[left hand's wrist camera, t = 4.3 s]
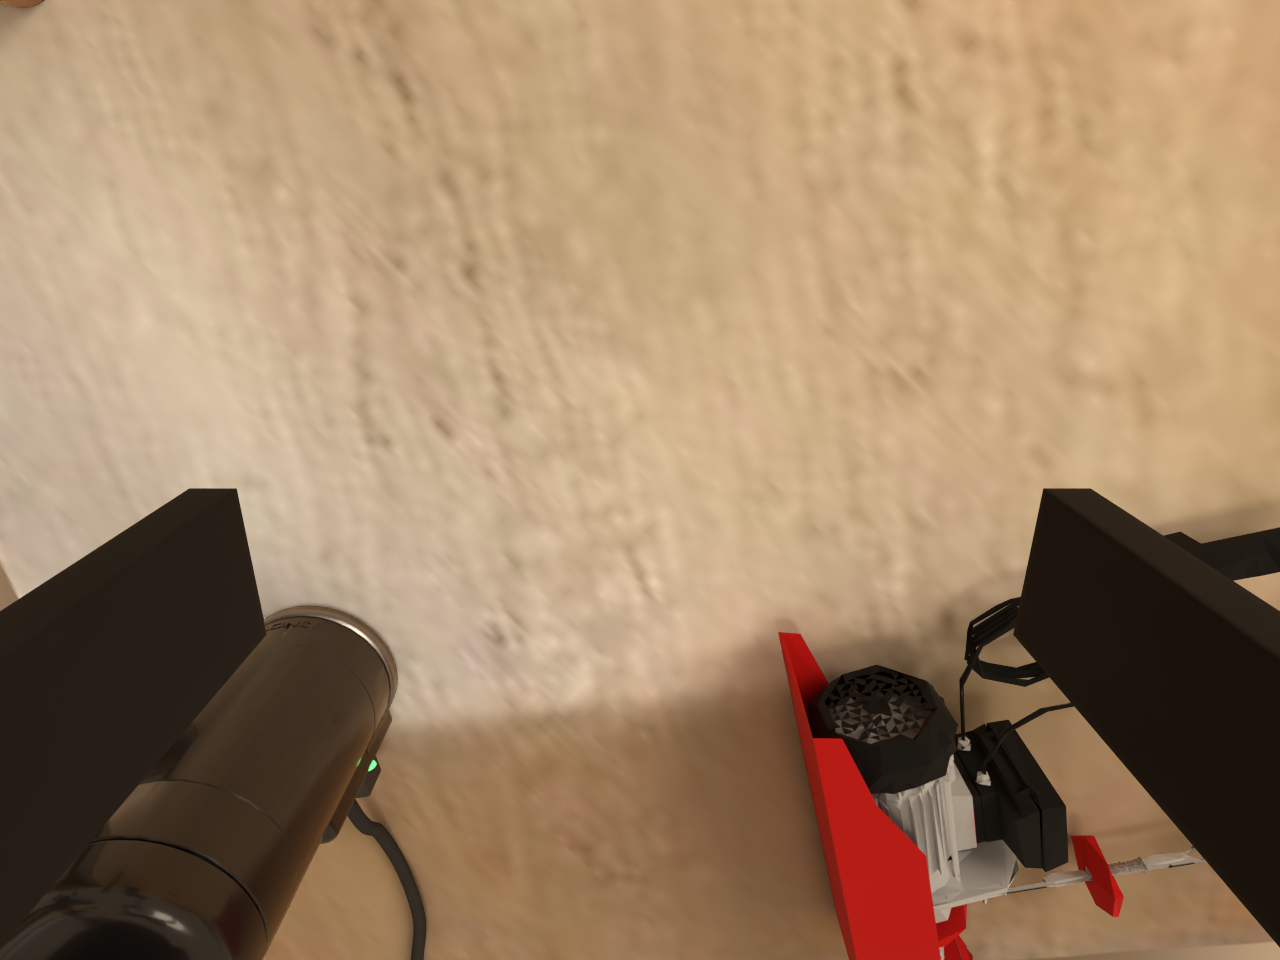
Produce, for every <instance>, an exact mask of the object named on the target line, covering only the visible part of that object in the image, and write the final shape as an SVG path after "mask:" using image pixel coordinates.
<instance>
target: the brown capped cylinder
mask: <svg viewBox="0 0 1280 960" xmlns="http://www.w3.org/2000/svg"><path fill="white" fill-rule="evenodd" d="M41 1H43V0H0V3H1V4H5V5H8V6H11V7H17V8H26V7H31V6H34V5H36V4H38V3H40V2H41Z"/></svg>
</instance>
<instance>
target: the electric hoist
mask: <svg viewBox="0 0 1280 960" xmlns="http://www.w3.org/2000/svg"><path fill="white" fill-rule="evenodd" d="M1164 537H1166V538H1167V539H1169V540H1171V541H1172V542H1174V543H1175V544H1177V545H1178V546H1180V547H1181V548H1183V549H1184V550H1186V551H1188V552H1189V553H1191V554H1192V555H1194V556H1195V557H1197V558H1198V559H1200V560H1201V561H1203V562H1204V563H1206V564H1208V565H1209V566H1211V567H1212V568H1214V569H1215V570H1217V571H1218V572H1220V573H1221V574H1223V575H1225V576H1226V577H1228V578H1229V579H1231V580H1232V581H1234V580H1239V579H1244V578H1250V577H1256V576H1262V575H1267V574H1272V573H1277V572H1280V527H1279V528H1275V529H1270V530H1265V531H1260V532H1256V533H1251V534H1246V535H1241V536H1236V537H1232V538H1227V539H1222V540H1217V541H1213V542H1208V543H1203V544H1201V543H1199V542H1197V541H1195V540H1194V539H1192V538H1190V537H1189V536H1187V535H1185V534H1183V533H1182V532H1177V533H1173V534H1169V535H1165V536H1164ZM1020 600H1021V597H1018V598H1013V599H1009V600H1007V601H1005V602H1003V603H1001V604H998V605H996V606H994V607H993V608H991V609H990V610H988V611H986V612H985V613H983V614H982V615H980V616H979V617H977V618H975V619H974V620H972V621H971V622H970V624H969V627H968V630H967V642H966V652H965V659H964V660H967V664H968V666H967V668H966V669H965V671H964V673H963V675H962V676H961V678H960V709H961V734H957V735H955V734H956V730H957V726H958V725H957V723H956V721H955V720H954V718H953V717H952V715H951V714H950V712H949V711H948V709H947V708H946V706H945V703H944V699H943V698H942V697H940V696H939V695H938V694H937V692H936V691H935V689H934V688H933V686H932V685H931V684H930V683H928V682H927V681H925V680H922V679H919V678H916V677H913V676H910V675H906V674H903V673H900V672H897V671H894V670H891V669H888V668H885V667H882V666H879V665H875V666H871V667H868V668H864V669H860V670H857V671H853V672H850V673H846V674H843V675H841V676H840V677H838V678H837V679H835V680H834V681H832V682H831V683H830V684H828V682H827V680H826V678H825V677H824V675H823V673H822V671H821V670H820V668H819V666H818V664H817V663H816V661H815V659H814V657H813V656H812V654H811V652H810V650H809V649H808V647H807V645H806V643H805V641H804V640H803V638H802V636H801V634H793V633H782V632H778V633H779V638H780V643H781V648H782V653H783V657H784V662H785V667H786V672H787V677H788V681H789V686H790V691H791V696H792V701H793V706H794V710H795V715H796V720H797V725H798V730H799V734H800V739H801V744H802V749H803V754H804V759H805V763H806V768H807V773H808V778H809V783H810V788H811V792H812V797H813V802H814V807H815V812H816V816H817V821H818V826H819V831H820V836H821V841H822V845H823V850H824V855H825V860H826V865H827V869H828V874H829V879H830V884H831V889H832V894H833V898H834V903H835V908H836V913H837V917H838V921H839V925H840V928H841V932H842V935H843V939H844V943H845V946H846V950H847V953H848V957H849V960H973V958H972V954H971V953H970V952H969V951H968V949H967V947H966V945H965V944H964V942H963V941H962V939H961V938H960V936H959V934H960V933H961V932H962V931H963V930H965V929H966V907H967V904H968V903H972V902H976V901H980V900H983V902H984V904H986V903H987V899H989V898H993V897H997V896H1001V895H1007V894H1008V893H1015V892H1021V891H1027V890H1033V889H1040V888H1046V887H1061V886H1066V885H1070V884H1075V883H1079V882H1083V881H1085V883H1086V885H1087V887H1088V889H1089V891H1090V893H1091V896H1092V898H1093V900H1094V902H1095V904H1096V905H1097V906H1098V907H1100V908H1101V909H1103V910H1104V911H1106V912H1107V913H1108V914H1110V915H1111V916H1113V917H1118V916H1119V913H1120V909H1121V905H1122V901H1123V898H1124V896H1123V894H1122V892H1121V890H1120V888H1119V886H1118V884H1117V882H1116V880H1115V878H1114V876H1121V875H1127V874H1133V873H1139V872H1145V871H1152V870H1158V869H1164V868H1170V867H1177V866H1183V865H1189V864H1195V863H1201V862H1207V861H1206V860H1205V859H1199V858H1195V857H1191V856H1188V855H1187V854H1188V853H1189V852H1190V851H1191V850H1192V849H1193V848H1194V846H1193V847H1191V848H1190V849H1188V850H1187V851H1185V852H1178V853H1168V854H1158V855H1150V856H1148V857H1146V858H1144V859H1142V858H1141V857H1138V859H1135V860H1134V859H1133V860H1132V861H1127V862H1123V863H1121V862H1118V863H1114V864H1115V865H1114V864H1112V863H1111V865H1110V864H1107V862H1106V860H1105V858H1104V856H1103V854H1102V852H1101V850H1100V848H1099V846H1098V843H1097V841H1096V839H1095V837H1094V836H1071V837H1072V842H1073V846H1074V851H1075V856H1076V860H1077V865H1078V869H1079V870H1078V871H1068V872H1058V873H1051V874H1049V875H1047V876H1045V877H1043V881H1044V882H1041V883H1035V884H1030V885H1024V886H1019V887H1013V888H1009V886H1010V885H1011V883H1012V881H1013V879H1014V878H1015V876H1016V874H1017V873H1018V871H1019V869H1018V865H1017V861H1016V859H1017V858H1018V859H1019V861H1020V862H1021V863H1022V864H1023V865H1024V867H1026V868H1043V870H1044V871H1045V872H1047V871H1049V870H1052V869H1054V868H1056V867H1058V866H1061V865H1063V864H1065V863H1067V862H1068V845H1067V820H1066V806H1065V804H1064V803H1063V801H1062V800H1061V798H1060V797H1059V795H1058V794H1057V792H1056V791H1055V789H1054V788H1053V786H1052V784H1051V783H1050V781H1049V780H1048V778H1047V777H1046V775H1045V774H1044V772H1043V771H1042V769H1041V768H1040V766H1039V765H1038V763H1037V762H1036V760H1035V759H1034V757H1033V756H1032V754H1031V753H1030V751H1029V750H1028V748H1027V747H1026V745H1025V744H1024V742H1023V741H1022V739H1021V738H1020V736H1019V735H1018V733H1017V732H1016V730H1015V729H1016V728H1018V727H1020V726H1022V725H1024V724H1026V723H1027V722H1029V721H1031V720H1033V719H1035V718H1037V717H1038V716H1040V715H1042V714H1044V713H1046V712H1048V711H1053V710H1058V709H1063V708H1068V707H1073V706H1074V705H1073V704H1072V703H1071V702H1070V703H1065V704H1060V705H1055V706H1050V707H1045V708H1040V709H1039V710H1037V711H1035V712H1034V713H1032V714H1030V715H1028V716H1027V717H1025V718H1023V719H1022V720H1020V721H1018V722H1017V723H1015V724H1013V725H1012V724H1011V723H1010V721H1009V720H1004V721H998V722H991V723H987V727H986V725H985V724H983V725H982V726H980V727H978V728H976V729H974V730H973V731H970V732H965V720H964V684H965V682H966V680H967V678H968V676H969V674H970V672H971V670H972V669H973V670H974V671H975V672H976V673H977V674H979V675H980V676H981V677H982V678H984V679H989V680H994V681H999V682H1004V683H1009V684H1014V685H1019V686H1024V687H1026V686H1028V685H1031V684H1033V683H1036V682H1039V681H1041V680H1044V679H1046V678H1049V676H1048V675H1047V674H1046V672H1045V671H1044V670H1043V669H1042V668H1041V666H1040V665H1039V664H1038V663H1037V662H1035V663H1031V664H1028V665H1024V666H1020V667H1017V668H1015V667H1009V666H1003V665H998V664H992V663H987V662H984V661H981V660H979V657H978V656H979V654H980V652H981V650H982V648H983V646H985V645H986V644H988V643H990V642H991V641H993V640H995V639H996V638H998V637H1000V636H1001V635H1003V634H1005V633H1006V632H1008V631H1010V630H1011V629H1013V628H1015V624H1016V619H1017V618H1016V617H1017V614H1018V609H1019V607H1017V606H1019V604H1020ZM1009 604H1010V605H1009ZM1007 605H1008V606H1007ZM1005 606H1007V607H1005ZM1004 607H1005V608H1004ZM1002 608H1004V609H1002ZM1000 609H1002V610H1000ZM998 610H1000V611H999V612H997V611H998ZM995 612H997V613H996V614H994V615H993V616H991V617H989V618H988V619H986V620H985V621H983V622H981V623H980V624H978V625H977V626H975V627H974V628H973V625H974V624H976V623H977V622H979V621H981V620H983V619H984V618H986V617H988V616H990V615H991V614H993V613H995ZM1015 618H1016V619H1015ZM1012 620H1013V621H1012ZM974 634H975V635H974ZM971 635H972V636H973V635H974V636H973V637H972V636H971ZM974 641H975V642H974ZM977 646H978V648H977V650H976V647H977ZM969 652H970V656H969ZM1028 677H1034V678H1032V679H1030V680H1024V679H1018V678H1028ZM1194 851H1196V849H1195V850H1193V851H1192V852H1194ZM1192 852H1191V853H1192ZM1128 862H1129V863H1128ZM1126 863H1127V864H1126ZM1138 864H1139V865H1138ZM1132 865H1133V866H1132ZM1134 865H1135V866H1134ZM1121 867H1122V868H1121ZM1115 868H1116V869H1115ZM1117 868H1118V869H1117ZM1111 869H1112V870H1111Z"/></svg>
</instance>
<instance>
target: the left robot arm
mask: <svg viewBox="0 0 1280 960" xmlns="http://www.w3.org/2000/svg"><path fill="white" fill-rule="evenodd" d="M266 635H267V633H266V629H265V624H264V619H263V614H262V609H261V604H260V600H259V595H258V590H257V585H256V580H255V575H254V571H253V566H252V561H251V556H250V551H249V546H248V542H247V537H246V532H245V527H244V522H243V517H242V513H241V508H240V503H239V498H238V493H237V489H188V490H187V491H185V492H183V493H182V494H180V495H179V496H177V497H176V498H174V499H173V500H171V501H170V502H168V503H167V504H165V505H163V506H162V507H160V508H159V509H157V510H156V511H154V512H153V513H151V514H150V515H148V516H146V517H145V518H143V519H142V520H140V521H139V522H137V523H136V524H134V525H133V526H131V527H129V528H128V529H126V530H125V531H123V532H122V533H120V534H119V535H117V536H116V537H114V538H113V539H111V540H109V541H108V542H106V543H105V544H103V545H102V546H100V547H99V548H97V549H96V550H94V551H92V552H91V553H89V554H88V555H86V556H85V557H83V558H82V559H80V560H79V561H77V562H76V563H74V564H72V565H71V566H69V567H68V568H66V569H65V570H63V571H62V572H60V573H59V574H57V575H55V576H54V577H52V578H51V579H49V580H48V581H46V582H45V583H43V584H42V585H40V586H39V587H37V588H35V589H34V590H32V591H31V592H29V593H28V594H26V595H25V596H23V597H22V598H20V599H18V600H17V601H15V602H14V603H12V604H11V605H9V606H8V607H6V608H5V609H3V610H2V611H0V947H1V946H2V945H3V943H4V942H5V941H6V940H7V939H8V938H9V936H10V935H11V934H12V933H13V932H14V931H15V929H16V928H17V927H18V926H19V925H20V924H21V922H22V921H23V920H24V919H25V918H26V916H27V915H28V914H29V913H30V912H31V911H32V909H33V908H34V907H35V906H36V905H37V904H38V902H39V901H40V900H41V899H42V898H43V897H44V895H45V894H46V893H47V892H48V891H49V890H50V888H51V887H52V886H53V885H54V884H55V882H56V881H57V880H58V879H59V878H60V877H61V875H62V874H63V873H64V872H65V871H66V870H67V868H68V867H69V866H70V865H71V864H72V863H73V861H74V860H75V859H76V858H77V857H78V855H79V854H80V853H81V852H82V851H83V850H84V848H85V847H86V846H87V845H88V844H89V843H90V841H91V840H92V839H93V838H94V837H95V836H96V834H97V833H98V832H99V831H100V830H101V828H102V827H103V826H104V825H105V824H106V823H107V821H108V820H109V819H110V818H111V817H112V816H113V814H114V813H115V812H116V811H117V810H118V809H119V807H120V806H121V805H122V804H123V803H124V801H125V800H126V799H127V798H128V797H129V796H130V794H131V793H132V792H133V791H134V790H135V789H136V787H137V786H138V785H139V784H140V783H141V782H142V780H143V779H144V778H145V777H146V776H147V774H148V773H149V772H150V771H151V770H152V769H153V767H154V766H155V765H156V764H157V763H158V762H159V760H160V759H161V758H162V757H163V756H164V755H165V753H166V752H167V751H168V750H169V749H170V747H171V746H172V745H173V744H174V743H175V742H176V740H177V739H178V738H179V737H180V736H181V735H182V733H183V732H184V731H185V730H186V729H187V728H188V726H189V725H190V724H191V723H192V722H193V720H194V719H195V718H196V717H197V716H198V715H199V713H200V712H201V711H202V710H203V709H204V708H205V706H206V705H207V704H208V703H209V702H210V701H211V699H212V698H213V697H214V696H215V695H216V693H217V692H218V691H219V690H220V689H221V688H222V686H223V685H224V684H225V683H226V682H227V681H228V679H229V678H230V677H231V676H232V675H233V674H234V672H235V671H236V670H237V669H238V668H239V666H240V665H241V664H242V663H243V662H244V661H245V659H246V658H247V657H248V656H249V655H250V654H251V652H252V651H253V650H254V649H255V648H256V647H257V645H258V644H259V643H260V642H261V641H262V640H263V638H264V637H265V636H266ZM1013 635H1014V636H1015V637H1016V638H1017V640H1018V641H1019V642H1020V643H1021V644H1022V645H1023V647H1024V648H1025V649H1026V650H1027V651H1028V652H1029V654H1030V655H1031V656H1032V657H1033V658H1034V659H1035V661H1036V662H1037V663H1038V664H1039V665H1040V666H1041V668H1042V669H1043V670H1044V671H1045V672H1046V674H1047V675H1048V676H1049V677H1050V678H1051V679H1052V681H1053V682H1054V683H1055V684H1056V685H1057V686H1058V688H1059V689H1060V690H1061V691H1062V692H1063V693H1064V695H1065V696H1066V697H1067V698H1068V699H1069V701H1070V702H1071V703H1072V704H1073V705H1074V706H1075V708H1076V709H1077V710H1078V711H1079V712H1080V713H1081V715H1082V716H1083V717H1084V718H1085V719H1086V720H1087V722H1088V723H1089V724H1090V725H1091V726H1092V728H1093V729H1094V730H1095V731H1096V732H1097V733H1098V735H1099V736H1100V737H1101V738H1102V739H1103V740H1104V742H1105V743H1106V744H1107V745H1108V746H1109V747H1110V749H1111V750H1112V751H1113V752H1114V753H1115V755H1116V756H1117V757H1118V758H1119V759H1120V760H1121V762H1122V763H1123V764H1124V765H1125V766H1126V767H1127V769H1128V770H1129V771H1130V772H1131V773H1132V774H1133V776H1134V777H1135V778H1136V779H1137V780H1138V782H1139V783H1140V784H1141V785H1142V786H1143V787H1144V789H1145V790H1146V791H1147V792H1148V793H1149V794H1150V796H1151V797H1152V798H1153V799H1154V800H1155V801H1156V803H1157V804H1158V805H1159V806H1160V807H1161V809H1162V810H1163V811H1164V812H1165V813H1166V814H1167V816H1168V817H1169V818H1170V819H1171V820H1172V821H1173V823H1174V824H1175V825H1176V826H1177V827H1178V828H1179V830H1180V831H1181V832H1182V833H1183V834H1184V836H1185V837H1186V838H1187V839H1188V840H1189V841H1190V843H1191V844H1192V845H1193V846H1194V847H1195V848H1196V850H1197V851H1198V852H1199V853H1200V854H1201V855H1202V857H1203V858H1204V859H1205V860H1206V861H1207V863H1208V864H1209V865H1210V866H1211V867H1212V868H1213V870H1214V871H1215V872H1216V873H1217V874H1218V875H1219V877H1220V878H1221V879H1222V880H1223V881H1224V882H1225V884H1226V885H1227V886H1228V887H1229V888H1230V890H1231V891H1232V892H1233V893H1234V894H1235V895H1236V897H1237V898H1238V899H1239V900H1240V901H1241V902H1242V904H1243V905H1244V906H1245V907H1246V908H1247V909H1248V911H1249V912H1250V913H1251V914H1252V915H1253V916H1254V918H1255V919H1256V920H1257V921H1258V922H1259V924H1260V925H1261V926H1262V927H1263V928H1264V929H1265V931H1266V932H1267V933H1268V934H1269V935H1270V936H1271V938H1272V939H1273V940H1274V941H1275V942H1276V943H1277V945H1278V946H1279V947H1280V611H1278V610H1277V609H1275V608H1274V607H1272V606H1271V605H1269V604H1268V603H1266V602H1265V601H1263V600H1262V599H1260V598H1258V597H1257V596H1255V595H1254V594H1252V593H1251V592H1249V591H1248V590H1246V589H1245V588H1243V587H1241V586H1240V585H1238V584H1237V583H1235V582H1234V581H1232V580H1231V579H1229V578H1228V577H1226V576H1225V575H1223V574H1221V573H1220V572H1218V571H1217V570H1215V569H1214V568H1212V567H1211V566H1209V565H1208V564H1206V563H1204V562H1203V561H1201V560H1200V559H1198V558H1197V557H1195V556H1194V555H1192V554H1191V553H1189V552H1188V551H1186V550H1184V549H1183V548H1181V547H1180V546H1178V545H1177V544H1175V543H1174V542H1172V541H1171V540H1169V539H1167V538H1166V537H1164V536H1163V535H1161V534H1160V533H1158V532H1157V531H1155V530H1154V529H1152V528H1151V527H1149V526H1147V525H1146V524H1144V523H1143V522H1141V521H1140V520H1138V519H1137V518H1135V517H1134V516H1132V515H1130V514H1129V513H1127V512H1126V511H1124V510H1123V509H1121V508H1120V507H1118V506H1117V505H1115V504H1113V503H1112V502H1110V501H1109V500H1107V499H1106V498H1104V497H1103V496H1101V495H1100V494H1098V493H1097V492H1095V491H1093V490H1092V489H1043V493H1042V498H1041V503H1040V508H1039V513H1038V517H1037V522H1036V527H1035V532H1034V537H1033V542H1032V546H1031V551H1030V556H1029V561H1028V566H1027V571H1026V575H1025V580H1024V585H1023V590H1022V595H1021V600H1020V604H1019V609H1018V614H1017V619H1016V624H1015V629H1014V633H1013Z"/></svg>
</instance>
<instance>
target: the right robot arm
mask: <svg viewBox="0 0 1280 960" xmlns="http://www.w3.org/2000/svg"><path fill="white" fill-rule="evenodd" d="M264 624H265V629H266V633H267V635H266V636H265V637H264V638H263V640H262V641H261V642H260V643H259V644H258V645H257V647H256V648H255V649H254V650H253V651H252V652H251V654H250V655H249V656H248V657H247V658H246V659H245V661H244V662H243V663H242V664H241V665H240V666H239V668H238V669H237V670H236V671H235V672H234V674H233V675H232V676H231V677H230V678H229V679H228V681H227V682H226V683H225V684H224V685H223V686H222V688H221V689H220V690H219V691H218V692H217V693H216V695H215V696H214V697H213V698H212V699H211V701H210V702H209V703H208V704H207V705H206V706H205V708H204V709H203V710H202V711H201V712H200V713H199V715H198V716H197V717H196V718H195V719H194V720H193V722H192V723H191V724H190V725H189V726H188V728H187V729H186V730H185V731H184V732H183V733H182V735H181V736H180V737H179V738H178V739H177V740H176V742H175V743H174V744H173V745H172V746H171V747H170V749H169V750H168V751H167V752H166V753H165V755H164V756H163V757H162V758H161V759H160V760H159V762H158V763H157V764H156V765H155V766H154V767H153V769H152V770H151V771H150V772H149V773H148V774H147V776H146V777H145V778H144V779H143V780H142V782H141V783H140V784H139V785H138V786H137V787H136V789H135V790H134V791H133V792H132V793H131V794H130V796H129V797H128V798H127V799H126V800H125V801H124V803H123V804H122V805H121V806H120V807H119V809H118V810H117V811H116V812H115V813H114V814H113V816H112V817H111V818H110V819H109V820H108V821H107V823H106V824H105V825H104V826H103V827H102V828H101V830H100V831H99V832H98V833H97V834H96V836H95V837H94V838H93V839H92V840H91V841H90V843H89V844H88V845H87V846H86V847H85V848H84V850H83V851H82V852H81V853H80V854H79V855H78V857H77V858H76V859H75V860H74V861H73V863H72V864H71V865H70V866H69V867H68V868H67V870H66V871H65V872H64V873H63V874H62V875H61V877H60V878H59V879H58V880H57V881H56V882H55V884H54V885H53V886H52V887H51V888H50V890H49V891H48V892H47V893H46V894H45V895H44V897H43V898H42V899H41V900H40V901H39V902H38V904H37V905H36V906H35V907H34V908H33V909H32V911H31V912H30V913H29V914H28V915H27V916H26V918H25V919H24V920H23V921H22V922H21V924H20V925H19V926H18V927H17V928H16V929H15V931H14V932H13V933H12V934H11V935H10V936H9V938H8V939H7V940H6V941H5V942H4V943H3V945H2V946H1V947H0V960H263V958H264V956H265V954H266V952H267V950H268V948H269V946H270V944H271V942H272V940H273V938H274V936H275V934H276V932H277V930H278V928H279V926H280V924H281V922H282V920H283V918H284V916H285V914H286V912H287V910H288V908H289V906H290V904H291V902H292V900H293V898H294V896H295V893H296V891H297V889H298V887H299V885H300V883H301V881H302V879H303V877H304V875H305V873H306V871H307V869H308V867H309V865H310V863H311V861H312V859H313V857H314V855H315V853H316V851H317V849H318V847H319V845H320V844H324V843H328V842H331V841H332V840H334V839H335V838H336V837H337V835H338V834H339V832H340V830H341V827H342V825H343V823H344V821H345V819H346V817H347V816H348V817H349V819H350V820H351V822H352V823H353V824H354V825H355V827H356V828H357V829H358V830H359V831H360V832H361V833H363V834H366V835H370V836H373V837H374V838H375V839H376V840H377V842H378V843H379V844H380V846H381V847H382V848H383V850H384V851H385V853H386V854H387V856H388V858H389V859H390V861H391V863H392V864H393V866H394V868H395V870H396V872H397V874H398V876H399V879H400V881H401V883H402V886H403V888H404V891H405V893H406V896H407V899H408V902H409V906H410V909H411V913H412V918H413V926H414V934H413V945H412V954H411V960H423V957H424V947H425V939H426V918H425V912H424V908H423V904H422V901H421V897H420V894H419V891H418V888H417V885H416V883H415V880H414V878H413V875H412V873H411V871H410V868H409V866H408V864H407V862H406V860H405V858H404V856H403V854H402V852H401V851H400V849H399V847H398V846H397V844H396V842H395V841H394V839H393V838H392V836H391V835H390V834H389V832H388V831H387V830H386V828H385V827H384V826H383V825H382V824H380V823H377V822H373V821H371V820H370V819H369V818H368V817H367V816H366V815H365V813H364V812H363V811H362V809H361V808H360V806H359V804H358V803H357V801H356V799H355V798H360V797H367V796H370V794H371V791H372V789H373V787H374V785H375V783H376V780H377V778H378V776H379V774H380V771H381V769H380V766H379V763H378V761H377V758H376V753H377V751H378V749H379V747H380V745H381V743H382V741H383V739H384V737H385V734H386V732H387V730H388V728H389V726H390V724H391V722H392V719H391V716H390V714H389V708H390V706H391V704H392V702H393V699H394V697H395V693H396V689H397V670H396V665H395V662H394V659H393V657H392V655H391V653H390V651H389V649H388V647H387V646H386V644H385V643H384V642H383V640H382V639H381V638H380V637H379V636H378V635H377V634H376V633H375V632H374V631H373V630H372V629H371V628H370V627H368V626H367V625H366V624H364V623H363V622H361V621H360V620H358V619H356V618H354V617H353V616H350V615H348V614H346V613H343V612H341V611H338V610H334V609H331V608H325V607H318V606H299V607H293V608H289V609H285V610H282V611H279V612H277V613H275V614H273V615H271V616H269V617H268V618H266V619H265V620H264Z"/></svg>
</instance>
